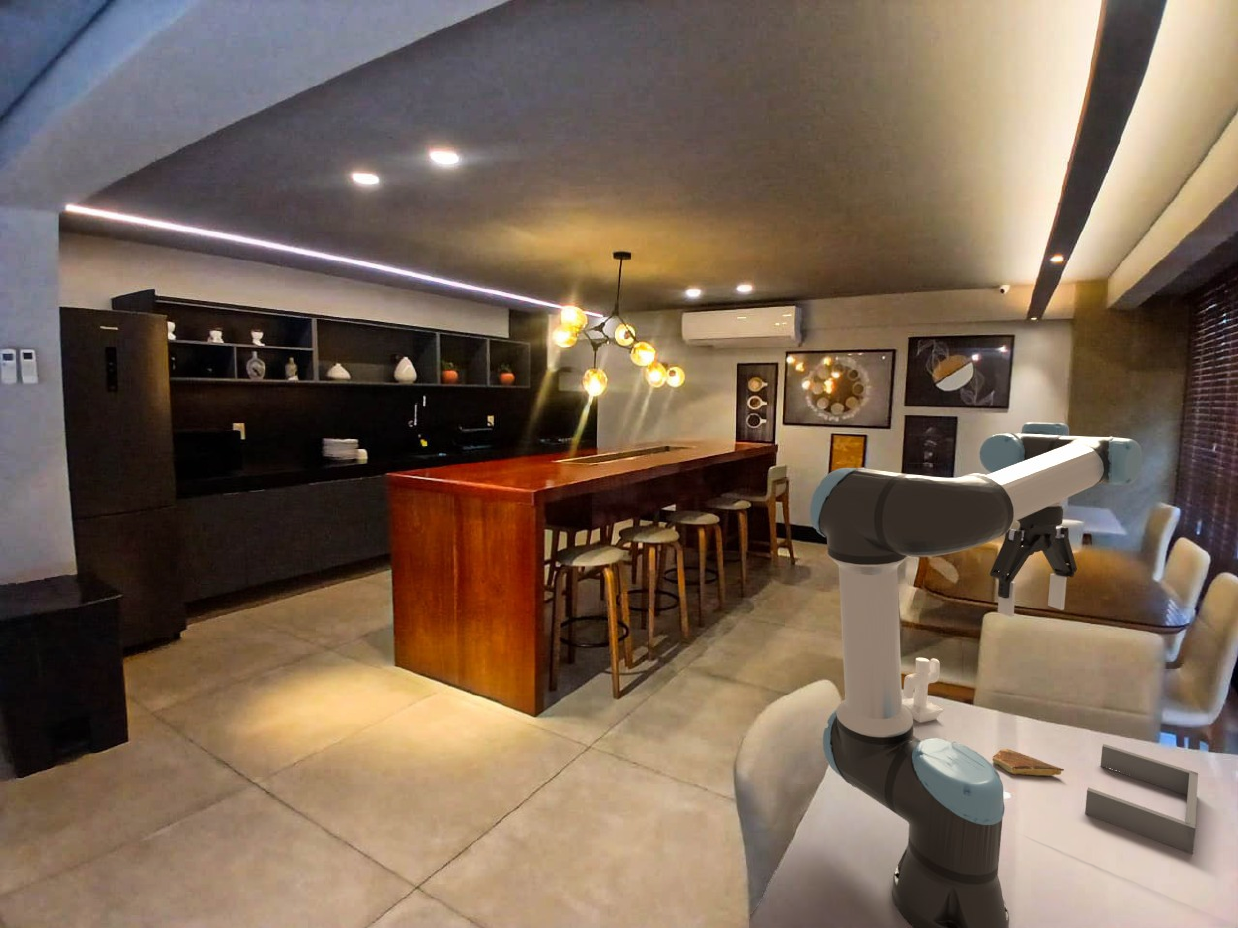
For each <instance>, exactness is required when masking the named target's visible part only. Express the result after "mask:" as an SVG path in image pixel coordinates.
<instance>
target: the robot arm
mask: <svg viewBox="0 0 1238 928" xmlns="http://www.w3.org/2000/svg"><path fill="white" fill-rule="evenodd" d="M979 460H980V462H981V464H982V466H983V468H984V469H985V471H987V472H990V473H988V474H982V473H968V474H964V475H962V476H959V477H939V476H929V475H922V474H921V475H919V474H908V473H900V472H894V471H893V472H892V471H883V470H877V469H870V468H866V467H857V468H856V467H842V468H837V469H835V470H833V471H831V472H829V473H828V474H827V475H825V476H824V477H823V478H822V479H821V481H820V483H819V485H817V486H816V488H815V489H814V491H813V494H812V496H811V501H810V505H809V518H810V522H811V525H812V527H813V529H815V530H816V532H817V533H818V534H819V535H820V536H822V537H824V538H826V543H827V544H826V545H827V556H828V558H829V559H830V560H832V562H834V563H835V564H836V565H837V567H838V579H839V581H838V582H839V596H840V597H839V599H840V601H839V602H840V618H841V638H842V639H841V640H842V659H843V660H842V661H843V678H844V680H843V681H844V699H843V700H842V701H841V702H840V703H838V705H837V707H836V708H835V710H834V711H833V712H832V713H831V714H830V715H829V718H828V719H827V721H826V724H827V727H825V728H824V729H823V735H822V749H823V753H824V757H825V759H826V761H827V764H828V765H829V767H830V768H831V769H832V770H833V771H834V773H836V774H837V775H839V776H840V777H841V779H843V781H845V782H846V783H848V784H849V785H851V786H852V787H853V788H856V789H858V790H860V791H861V792H863V793H864V794H866V795H867V796H869V797H870V798H871V799H873V800H874V801H876V802H878V803H879V804H881V806H884V807H885V808H887V809H888V810H890V811H891V812H893V813H894V814H896V815H897V816H899V817H901V818H902V820H904V821H906V822H907V823H908V841H907V846H906V848H905V850H903V851H904V852H903V854H902V856H901V858H900V859H899V862H898V864H897V866H896V868H895V869H894V873H893V877H892V887H891V888H892V892H891V893H893V894H892V898H894V899H893V901H895V902H894V904H895V906H896V908H897V907H898V908H897V910H898V911H899V912H900V914H901V915H902V916H903V917H904V919H905V920H906V921H907V922H909V924H910V925H911V926H912V927H914V928H1009V926H1010V914H1009V910H1008V907H1007V904H1006V901H1005V900H1004V897H1003V890H1002V886H1001V881H1000V878H999V863H1000V852H1001V839H1002V828H1003V817H1004V815H1005V800H1004V798H1005V797H1004V783H1003V780H1002V779H1001V776H1000V774H999V772H998V771H997V770H996V767H994V765H993V764H992V763H991V762H990V761H989V760H988V759H987V758H985V757H984V756H983V755H982V754H980V753H978V752H977V751H976V750H974V749H971V748H970V747H968V746H967V745H963V744H961V743H959V742H956V741H953V742H950V741H948V740H947V739H945V738H939V737H930V738H929V737H928V738H924V739H922V740H921V739H919V738H917V737H915V735H914V719H913V717H912V714H911V713H910V711H909V710H908V709H907V708H906V707H905V706H903V705H902V699H903V695H902V694H903V693H902V692H903V691H902V688H903V687H902V667H901V666H902V665H901V664H902V663H901V661H902V660H901V635H900V633H901V632H900V609H899V606H900V605H899V604H900V603H899V601H900V600H899V580H898V579H899V578H898V577H899V576H898V568H899V566H900V565H901V564H902V563H904V562H905V561H906V560H907V559H908V557H917V558H918V557H919V558H928V557H930V558H931V557H938V556H939V557H940V556H944V555H948V554H955V553H958V552H959V553H960V552H963V551H966V550H969V549H972V548H976V547H979V546H982V545H984V544H988V543H989V542H992V541H994V540H996V539H998V538H1000V537H1002V536H1004V540H1003V542H1002V544H1001V547H1000V549H999V552H998V553H997V556H996V559H995V561H994V563H993V565H992V568H991V570H990V572H989V576H990V577H991V578H993V579H995V580H998V587H997V596H998V602H997V604H998V605H997V613H998V614H1002V615H1004V616H1008V617H1014V616H1015V615H1014V613H1015V603H1016V601H1015V600H1016V589H1017V582H1015V581H1014V580H1015V578H1016V577H1017V575H1018V574H1019V572H1020V571H1021V569H1022V567H1023V566H1024V565H1025V564H1026V561H1027V560H1028V558H1029V557H1031V556H1032V555H1034V554H1035V553H1039V552H1042V553H1043V555H1044V557H1045V558H1046V560H1047V562H1048V564H1049V565H1050V567H1051V569H1052V571H1053V572H1054V573H1050V574H1049V588H1048V599H1047V600H1048V601H1047V606H1048V607H1051V608H1054V609H1057V610H1060V611H1064V610H1065V602H1066V592H1067V587H1068V584H1067V583H1068V578H1073V577H1075V573H1076V572H1077V570H1078V568H1077V563H1076V560H1075V557H1074V554H1073V549H1072V545H1071V541H1070V539H1069V533H1070V532H1069V527H1067V526H1062V524H1063V519H1064V507H1063V505H1060V504H1062V503H1064V502H1065V499H1068V498H1070V497H1072V496H1074V495H1076V494H1078V493H1081V492H1083V491H1085V490H1087V489H1089V488H1092V487H1094V486H1096V485H1099V484H1105V485H1109V486H1115V485H1116V486H1127V485H1131V484H1132V483H1134V482H1135V481H1136V480H1137V479H1138V477H1139V475H1140V473H1141V471H1142V467H1143V452H1142V449H1141V446H1140V444H1139V443H1138V442H1137V441H1136V440H1134V439H1132V438H1123V437H1114V436H1111V435H1110V436H1109V437H1108V436H1082V435H1081V436H1080V435H1079V436H1078V435H1070V427H1069V426H1068V424H1066V423H1061V422H1025V423H1024V424H1023V425H1022V428H1021V432H1020V433H1018V432H1017V433H1016V432H1014V433H1012V432H1002V433H996V434H994V435H991V436H989V437H987V438H985V440H984V441H983V442H982V444H981V446H980V449H979ZM1016 522H1018V523H1019V527H1018V529H1013V528H1012V526H1013V525H1014V523H1016Z"/></svg>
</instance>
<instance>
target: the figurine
mask: <svg viewBox="0 0 1238 928" xmlns="http://www.w3.org/2000/svg"><path fill="white" fill-rule="evenodd" d="M940 667H941V662H940V661H939V660H938V659H937V658H931V659H930V660H929V659H928V658H925V657H916V658H915V671H914V673H911V674H907V675H906V676H905V677H904V679H903V680H904V681H903V696H904V697H906V698H902V705H903V706H905V707H906V708H907V709H908V710H909V711H910V713H911V714H912V717H913V720H915V721H917V723H920V724H921V723H926V722H929V721H934V720H937V719H938V718H939V717H940V715H941V714H942V713H943V712H944V711H945V708H942V707H941V706H938V705H937V704H935V703H933V702H931V701H929V700H928V689H929V684H932V683H933V684H934V683H937V682H938V681H939V677H940Z"/></svg>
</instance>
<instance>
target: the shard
mask: <svg viewBox="0 0 1238 928" xmlns="http://www.w3.org/2000/svg"><path fill="white" fill-rule="evenodd" d="M992 761H993V764H994V765H996V766H1000V767H1001V768H1002V769H1003V770H1005V771H1006V772H1008V773H1010V774H1012V775H1013V776H1014V775H1022V776H1023V775H1030V776H1047V777H1049V776H1055V775H1056V776H1057V775H1059V776H1060V775H1061V774H1062V772H1063V771H1065V769H1064V768H1061V767H1057V766H1055V765H1053V764H1049V763H1047V762H1044V761H1042V760H1039V759H1037V758H1034V757H1032V756H1029V755H1026V754H1023V753H1020V752H1017V751H1014V750H1011V749H1008V748H1003V749H999V750H998V752H997V753H996V754H994V755H993V756H992Z"/></svg>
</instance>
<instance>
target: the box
mask: <svg viewBox="0 0 1238 928" xmlns="http://www.w3.org/2000/svg"><path fill="white" fill-rule="evenodd" d="M1101 746H1102V748H1101V755H1100V756H1101V758H1100V768H1103V767H1107V768H1111V769H1113V770H1117V771H1120V772H1122V773H1124V774H1123V775H1125V774H1127V775H1126V776H1128V775H1130V776H1129V777H1131V776H1132V777H1131V778H1134V777H1135V778H1134V779H1137V778H1138V780H1140V781H1143V782H1147V783H1150V784H1153V785H1155V786H1158V787H1162V788H1165V789H1168V790H1171V791H1174V792H1176V793H1179V794H1183V795H1186V804H1185V805H1186V806H1185V818H1184V820H1183V819H1179V818H1176V817H1174V816H1171V815H1168V814H1165V813H1162V812H1159V811H1156V810H1153V809H1151V808H1147V807H1145V806H1143V805H1139V804H1136V803H1133V802H1131V801H1129V800H1126V799H1122V798H1120V797H1117V796H1114V795H1110V794H1108V793H1105V792H1101V791H1099V790H1097V789H1094V788H1092V787H1087V790H1086V799H1085V810H1084V811H1085V812H1084V813H1085V814H1086V815H1088V816H1091V817H1093V818H1097V819H1099V820H1101V821H1104V822H1107V823H1110V824H1113V825H1115V826H1117V827H1121V828H1123V829H1126V830H1129V831H1131V832H1132V833H1133V832H1134V833H1136V834H1139V835H1141V836H1144V837H1147V838H1149V839H1152V840H1155V841H1157V842H1160V843H1163V844H1165V845H1168V846H1171V847H1173V848H1176V849H1178V850H1181V851H1184V852H1187V853H1189V854H1193V852H1194V846H1195V845H1194V844H1195V843H1194V842H1195V834H1196V821H1197V820H1196V819H1197V802H1198V801H1197V799H1198V785H1199V784H1198V780H1199V773H1198V772H1196V771H1192V770H1190V769H1187V768H1183V767H1179V766H1177V765H1173V764H1171V763H1167V762H1164V761H1160V760H1158V759H1154V758H1151V757H1147V756H1145V755H1141V754H1137V753H1135V752H1131V751H1128V750H1124V749H1121V748H1118V747H1114V746H1112V745H1108V744H1104V743H1102V745H1101ZM1107 768H1106V769H1107ZM1113 770H1112V771H1113ZM1122 773H1121V774H1122Z"/></svg>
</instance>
